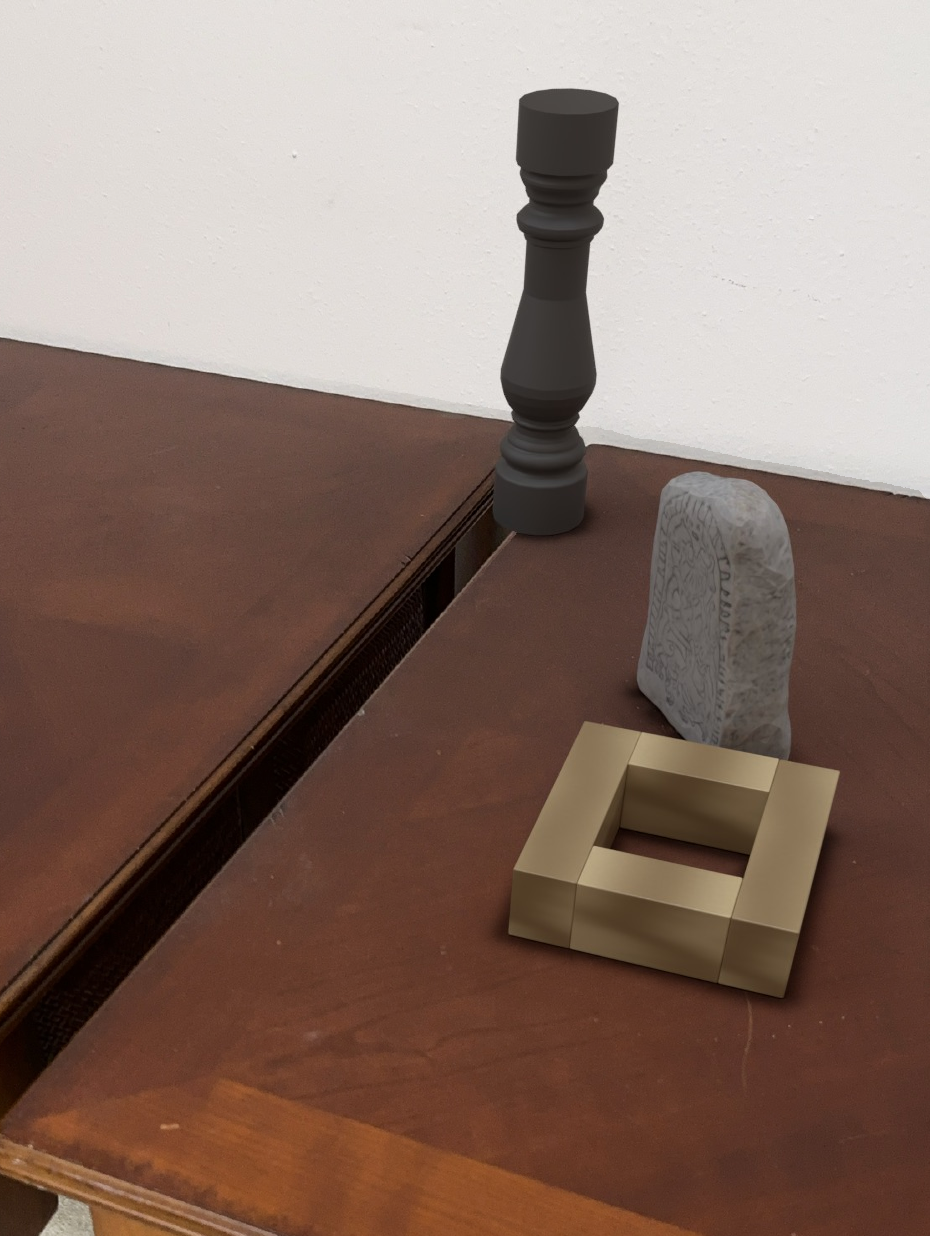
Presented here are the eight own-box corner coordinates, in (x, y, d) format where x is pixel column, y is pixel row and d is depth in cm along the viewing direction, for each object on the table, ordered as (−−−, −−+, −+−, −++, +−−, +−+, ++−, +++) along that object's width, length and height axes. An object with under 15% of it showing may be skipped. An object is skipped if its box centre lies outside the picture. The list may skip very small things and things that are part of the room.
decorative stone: (612, 689, 88) (642, 436, 78) (703, 669, 90) (745, 418, 80) (706, 793, 81) (753, 528, 71) (804, 770, 82) (864, 507, 72)
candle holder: (558, 543, 101) (594, 121, 84) (476, 521, 104) (495, 106, 86) (598, 507, 105) (641, 95, 88) (518, 486, 107) (544, 82, 90)
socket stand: (824, 834, 78) (840, 770, 76) (783, 999, 69) (799, 932, 67) (577, 784, 82) (584, 720, 79) (507, 934, 73) (513, 868, 70)
